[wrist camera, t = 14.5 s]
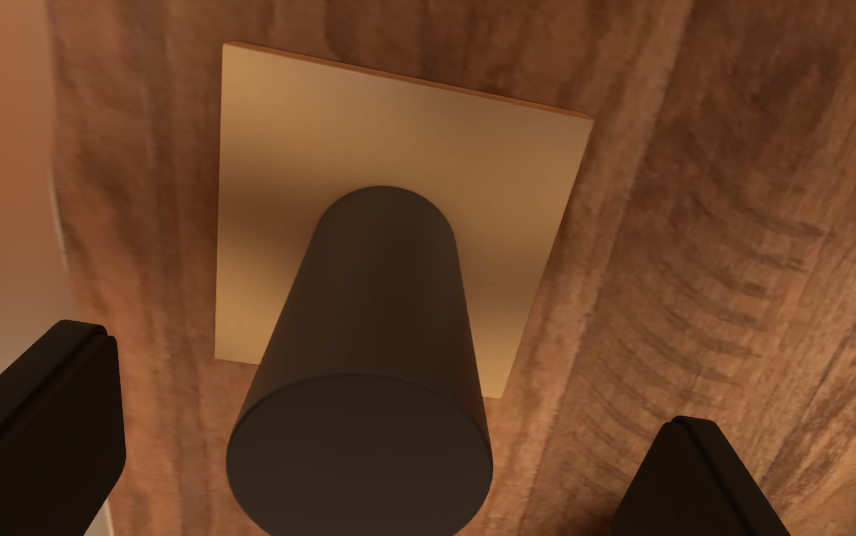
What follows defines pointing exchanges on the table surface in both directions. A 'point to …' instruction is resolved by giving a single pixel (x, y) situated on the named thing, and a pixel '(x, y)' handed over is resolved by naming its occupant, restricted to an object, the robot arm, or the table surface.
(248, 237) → the cork trivet
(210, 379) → the table surface
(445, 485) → the black canister
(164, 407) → the table surface
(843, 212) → the table surface
